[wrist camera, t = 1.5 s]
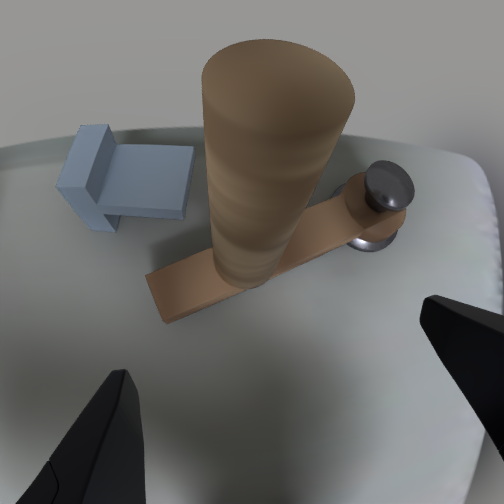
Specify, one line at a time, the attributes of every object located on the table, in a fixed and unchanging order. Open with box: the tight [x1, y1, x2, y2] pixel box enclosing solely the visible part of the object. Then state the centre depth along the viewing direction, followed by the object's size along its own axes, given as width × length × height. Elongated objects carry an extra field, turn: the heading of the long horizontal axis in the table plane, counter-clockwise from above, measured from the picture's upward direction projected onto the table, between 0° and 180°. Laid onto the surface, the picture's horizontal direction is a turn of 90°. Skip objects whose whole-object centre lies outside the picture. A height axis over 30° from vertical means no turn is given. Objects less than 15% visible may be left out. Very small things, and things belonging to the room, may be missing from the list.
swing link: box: [145, 39, 406, 324], centre depth 14 cm, size 18×5×14 cm, turn 116°
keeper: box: [56, 124, 195, 232], centre depth 19 cm, size 7×4×6 cm, turn 86°
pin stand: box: [331, 160, 415, 252], centre depth 21 cm, size 6×6×5 cm
